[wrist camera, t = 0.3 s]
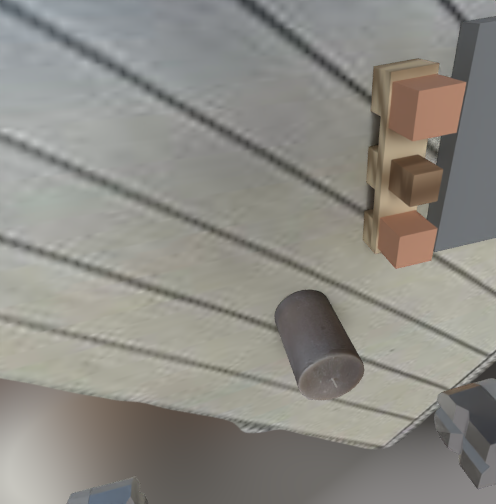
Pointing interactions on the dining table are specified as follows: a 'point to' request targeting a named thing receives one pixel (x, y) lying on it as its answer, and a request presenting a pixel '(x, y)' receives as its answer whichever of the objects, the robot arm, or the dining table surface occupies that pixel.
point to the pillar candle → (317, 346)
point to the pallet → (397, 155)
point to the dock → (470, 145)
